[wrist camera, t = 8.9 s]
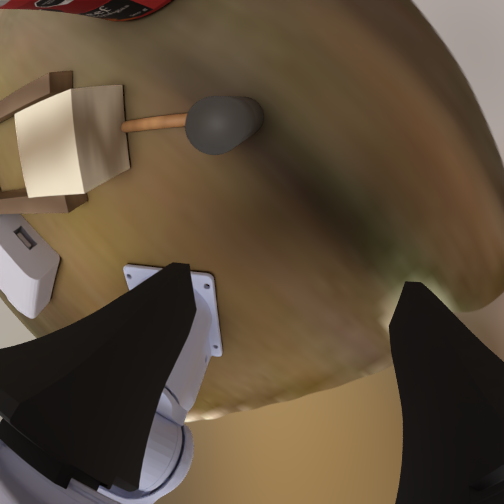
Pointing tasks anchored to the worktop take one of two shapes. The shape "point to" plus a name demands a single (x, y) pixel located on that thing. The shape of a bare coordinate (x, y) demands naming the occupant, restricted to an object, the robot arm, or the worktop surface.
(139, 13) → the canned food
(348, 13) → the worktop surface
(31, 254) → the charger
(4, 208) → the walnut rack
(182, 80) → the worktop surface
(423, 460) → the robot arm
